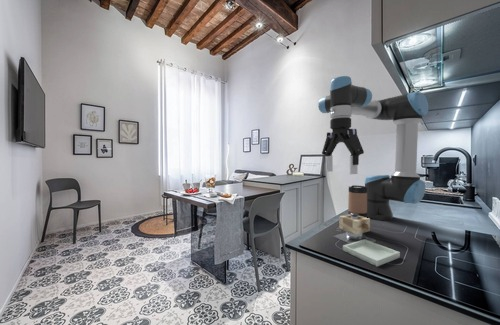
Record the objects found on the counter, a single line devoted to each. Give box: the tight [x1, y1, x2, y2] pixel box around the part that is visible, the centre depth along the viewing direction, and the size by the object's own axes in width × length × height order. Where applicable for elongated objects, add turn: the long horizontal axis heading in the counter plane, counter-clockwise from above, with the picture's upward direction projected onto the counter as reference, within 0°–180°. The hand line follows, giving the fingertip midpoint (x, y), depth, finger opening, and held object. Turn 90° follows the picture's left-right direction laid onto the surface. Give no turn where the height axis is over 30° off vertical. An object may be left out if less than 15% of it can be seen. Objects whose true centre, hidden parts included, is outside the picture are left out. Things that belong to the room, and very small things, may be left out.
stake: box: [333, 213, 377, 244], centre depth 85 cm, size 11×11×11 cm
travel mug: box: [347, 184, 367, 218], centre depth 96 cm, size 8×8×20 cm
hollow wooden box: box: [338, 214, 371, 234], centre depth 84 cm, size 8×9×5 cm
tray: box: [342, 239, 401, 267], centre depth 72 cm, size 12×12×2 cm
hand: (340, 172), depth 82 cm, fingers open, 13 cm apart
